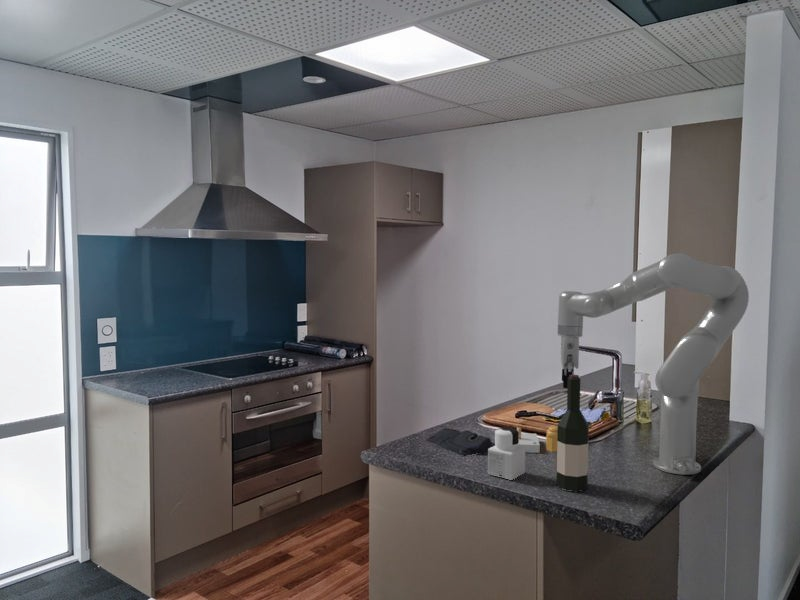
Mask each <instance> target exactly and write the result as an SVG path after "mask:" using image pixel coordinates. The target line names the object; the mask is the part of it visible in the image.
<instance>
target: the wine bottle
mask: <svg viewBox="0 0 800 600" xmlns="http://www.w3.org/2000/svg"><path fill="white" fill-rule="evenodd" d="M566 390H567V392H566V393H567V394H566V395H567V396H566V403H567V404H566V410H565V412H564V413H563V416H561V418H560V420H559V422H558V424H557V426H558V434H557V452H556V453H557V454H556V455H557V456H556V487H557V486H559V487H561V488H563V489H566V490H572V491H580V490H586V489H587V490H588V487H589V486H588V484H589V483H588V482H589V479H588V478H589V476H588V475H589V436H590V435H589V433H590V430H589V429H590V427H589V426H590V425H589V423H588V421H587V419H586V417H585V416H584V414H583V412H582V411H581V378H580V375H579V374H574V375H569V378H568V385H567V388H566ZM587 486H588V487H587Z"/></svg>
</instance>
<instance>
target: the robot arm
mask: <svg viewBox="0 0 800 600" xmlns="http://www.w3.org/2000/svg"><path fill="white" fill-rule="evenodd" d="M673 288H679V289H681V290H683V291H684V290H685V291H688V292H690V293H695V294H698V295H700V296H704V297H707V298H710V299H711V298H712V301H711V303H710V305H709V306H708V308H706V310H705V312H704V313H703V315H702V317H701V318H700V319H699V321H698V322H697V324H696V325H694V328H692V329H691V330H690V331H689V332H687V333H686V334H685V335H683V336H682V337H681V338H680V340H679V341H678V342H677V343H676V345H675V347H674V348H673V349H672V350H671V352H670V353H669V355H668V356H667V357H666V359H665V360H664V362H663V363H662V365H661V366H660V367H659V369H658V370H657V372H656V374H655V380H654V381H655V386H656V389H657V390H658V392H659V393H660V394H661V399H660V413H659V414H660V419H659V451H658V452H659V453H658V454H659V455H658V457H656V458H654V459H653V466H654V467H655V468H656V469H658V470H659V471H662V472H665V473H669V474H675V475H686V476H688V475H689V476H690V475H696V474H698V473H700V472H701V471H702V465H701V464H700V463H698V462H697V461H696V450H697V449H696V448H697V446H696V444H697V417H698V401H699V389H700V388H699V387H700V378H702V376H703V375H704V373H705V372H706V371H707V369H708V368H709V367H710V365H711V364H712V362H713V361H714V360H715V359H716V358H717V357H718V356H719V354H720V352H721V349H722V348H723V346H724V344H725V343H726V342H727V341H728V339H729V338H730V336H731V335H732V334H733V332H734V331H735V329H736V328H737V326H738V325H739V323H740V322H741V321H742V319H743V316H744V315H745V313H746V312H747V308H748V305H749V299H750V298H749V297H750V296H749V290H748V289H749V288H748V285H747V283H746V281H745V279H744V277H743V276H742V275H741V273H740V272H739V271H738V270H737V269H736V268H733V267H732V266H728V265H715V264H711V263H709V262H708V263H707V262H705V261H704V262H703V261H700V260H697V259H694V258H692V257H691V256H689V255H688V254H685V253H671V254H669V255H666V256H665V257H663V258H662V259H661V260H659V261H657V262H655V263H652V264H650V265H648V266H646V267H643V268H640V269H639V270H636V271H634V272H632V273H630V274H628V276H627V277H626V278H625V279H624V280H621V281H620V282H617V283H615V284H614V285H612V286H609V287H606V288H604V289H602V290H599V291H595V292H589V293H588V292H587V293H582V292H581V291H576V290H575V291H574V290H571V291H570V290H567V291H566V290H565V291H562V292H560V293H559V296H558V314H557V315H558V316H557V336H559V337H561V338H560V362H561V367H562V369H561V381H562V388H563V389H567V385H568V378H569V375H575V369H576V370H578V369H579V365H580V364H579V362H580V361H579V360H580V359H579V357H580V355H579V354H580V338H582V337H583V328H584V327H583V325H584V317H586V318H591V319H592V318H593V319H594V318H599V317H603V316H607V315H609V314H611V313H612V312H616V311H618V310H620V309H623V308H625V307H628V306H630V305H632V304H635V303H637V302H643V301H644V300H647V299H649V298H652V297H654V296H657V295H659V294H661V293H664V292H666V291H668V290H671V289H673Z"/></svg>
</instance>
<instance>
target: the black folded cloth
mask: <svg viewBox="0 0 800 600" xmlns="http://www.w3.org/2000/svg"><path fill="white" fill-rule="evenodd" d="M426 441H428V442H431V443H434V444H436V445H438V446H440V447H442V448H445V449H447V450H446V451H448V450H450V451H452V452H451V453H453V452H455V453H457V454H456V455H458V454H460V455H472V454H476V453H483V454H485V453H484V452H487V453H488V449H489V448H491V447H493V446H495V442H493V441H492V439H491V438H490V437H487V436H484V435H478V434H477V433H476V432H472V431H470V430H463V431H460V430H458V429H454V428H447V427H445V428H441V429H440V430H439V431H437V432H436V433H434V434H432V435H431V436H430V435H429V436H428V437H427V438H426V439H425V442H426ZM428 442H427V443H428ZM431 443H430V444H431ZM438 446H437V447H438ZM440 447H439V448H440ZM442 448H441V449H442ZM445 449H444V450H445ZM450 451H449V452H450ZM455 453H454V454H455ZM460 455H459V456H460ZM476 455H477V454H476Z"/></svg>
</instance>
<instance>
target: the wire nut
mask: <svg viewBox="0 0 800 600" xmlns="http://www.w3.org/2000/svg"><path fill="white" fill-rule="evenodd" d="M557 434H558V425H550V426H549V427H548V429H546V435H545V437H546V439H545V443H546V445H545V448H546V450H547V451H548V452H551V453H557Z"/></svg>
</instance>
